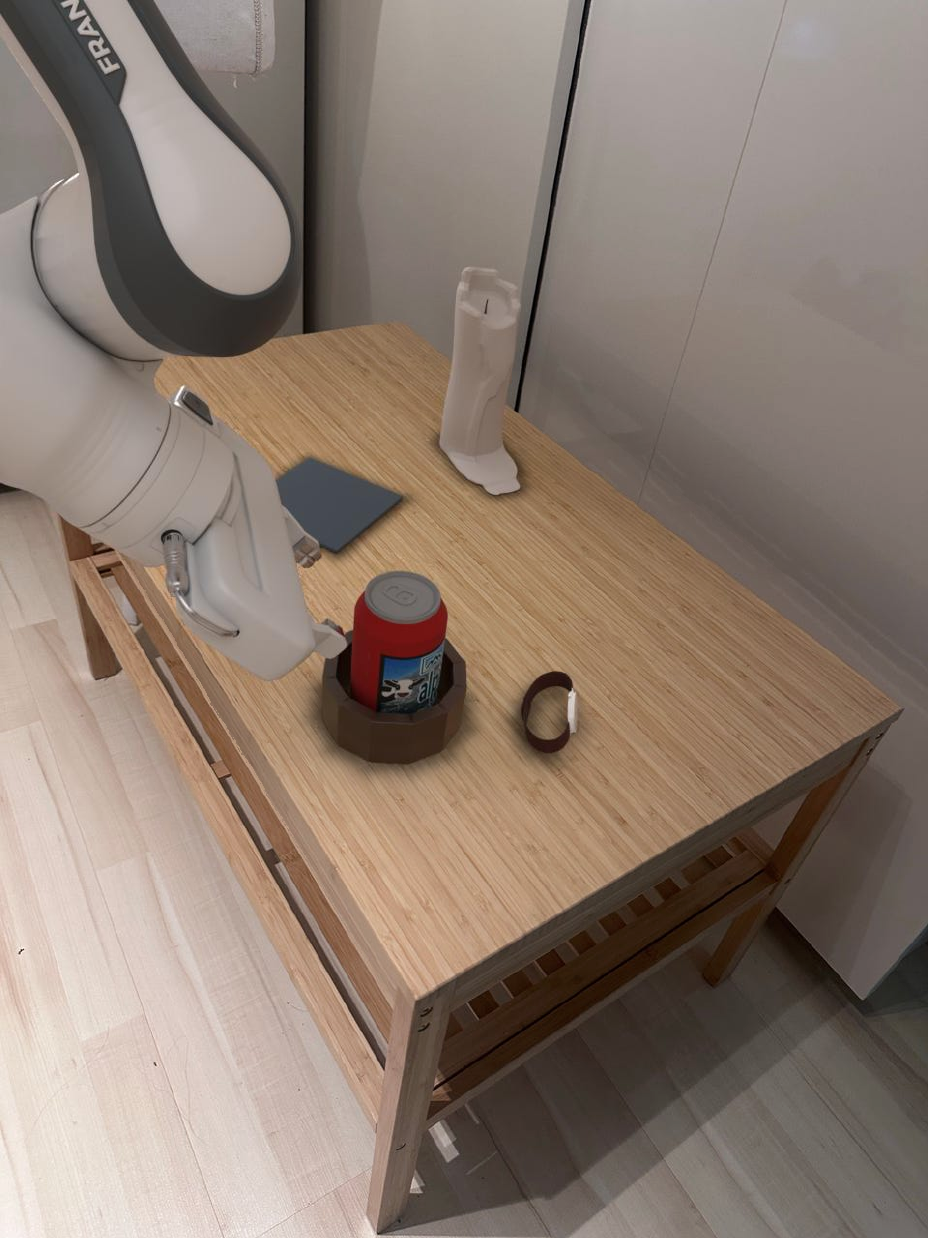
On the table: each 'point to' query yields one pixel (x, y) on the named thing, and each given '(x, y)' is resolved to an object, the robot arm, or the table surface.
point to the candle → (481, 379)
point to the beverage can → (398, 643)
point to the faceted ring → (392, 714)
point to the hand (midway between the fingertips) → (325, 598)
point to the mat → (332, 502)
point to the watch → (566, 682)
